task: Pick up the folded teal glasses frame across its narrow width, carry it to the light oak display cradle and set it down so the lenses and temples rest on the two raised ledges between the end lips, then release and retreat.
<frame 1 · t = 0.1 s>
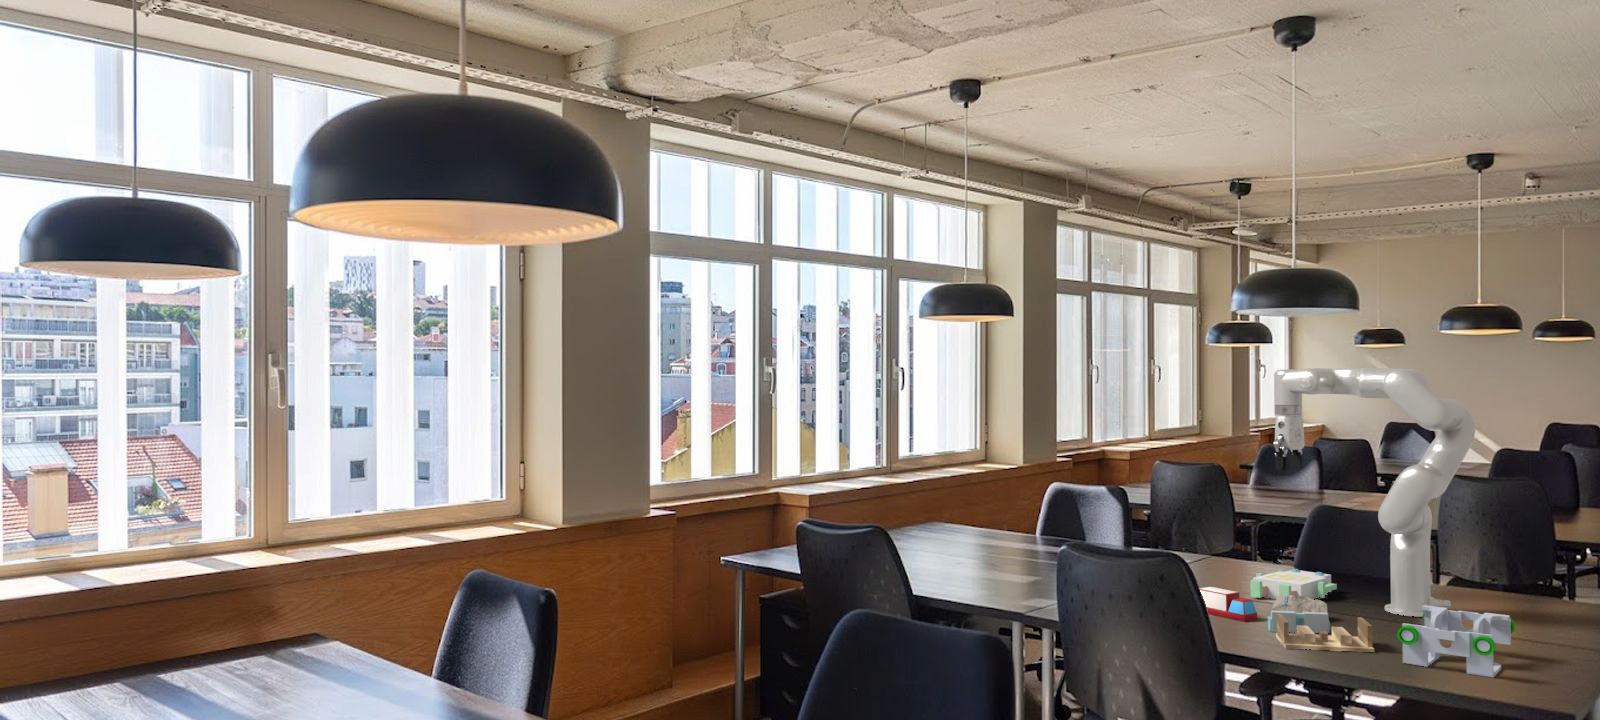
hand: (1289, 469, 325), 37 cm above the table, tool pointing down, fingers open, 9 cm apart
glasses: (1299, 632, 279), on the table
concrete fragment: (1302, 619, 295), on the table
decorative block: (1291, 597, 324), on the table
toy truck: (1227, 617, 299), on the table
bracket: (1457, 662, 251), on the table
cradle: (1323, 644, 266), on the table
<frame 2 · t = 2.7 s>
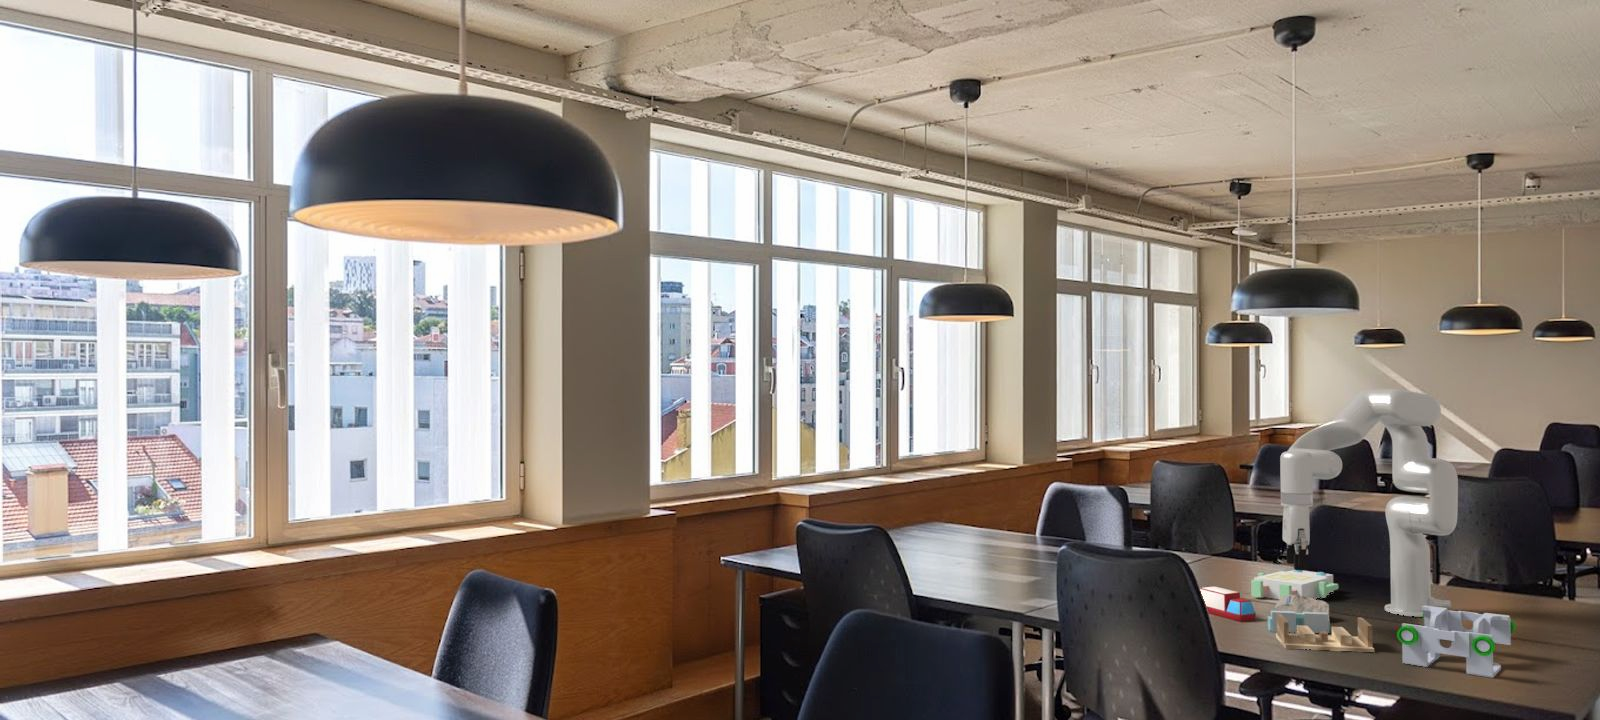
hand: (1297, 566, 280), 16 cm above the table, tool pointing down, fingers open, 9 cm apart
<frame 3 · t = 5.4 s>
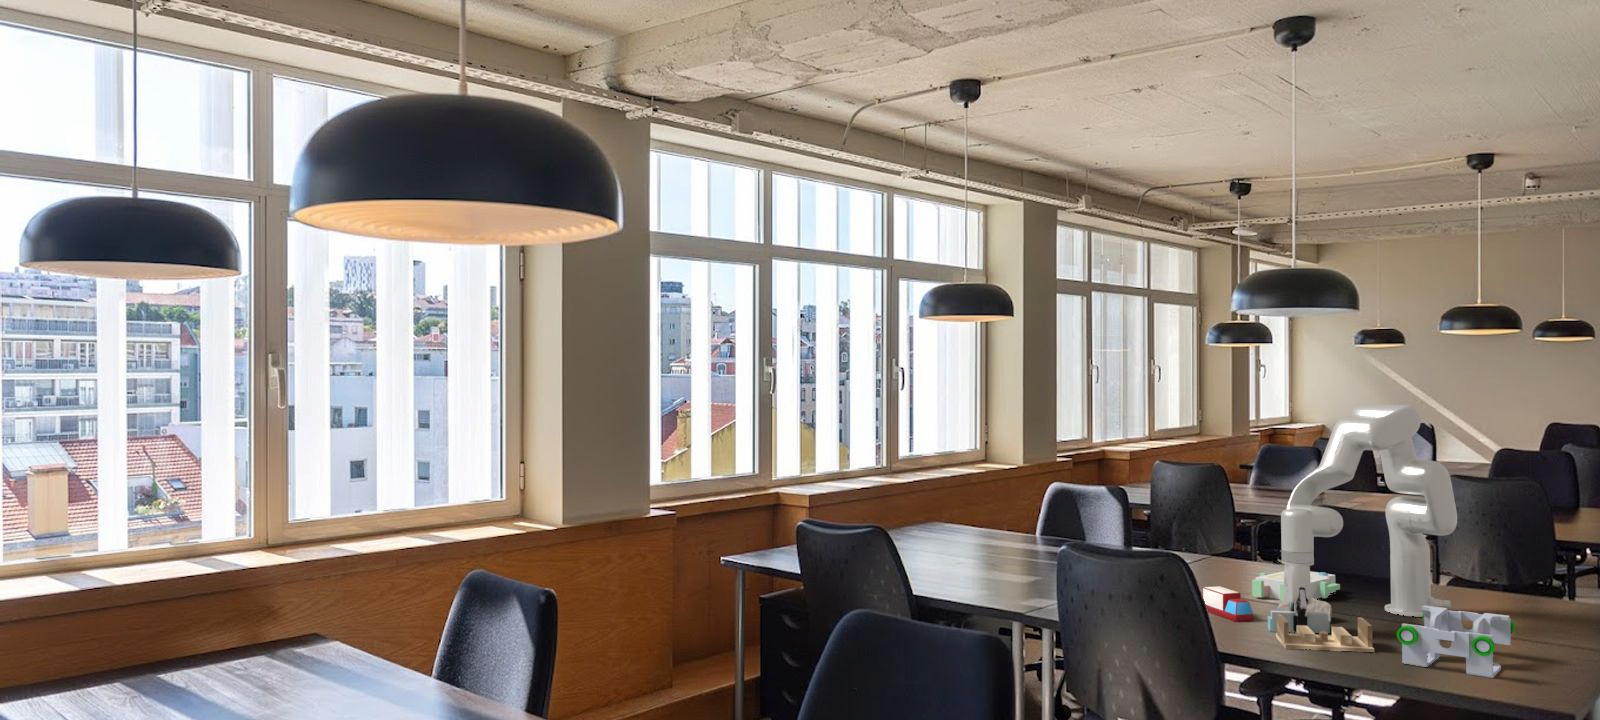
hand: (1298, 628, 280), 1 cm above the table, tool pointing down, fingers closed on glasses, 3 cm apart
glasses: (1299, 632, 279), on the table, touching gripper
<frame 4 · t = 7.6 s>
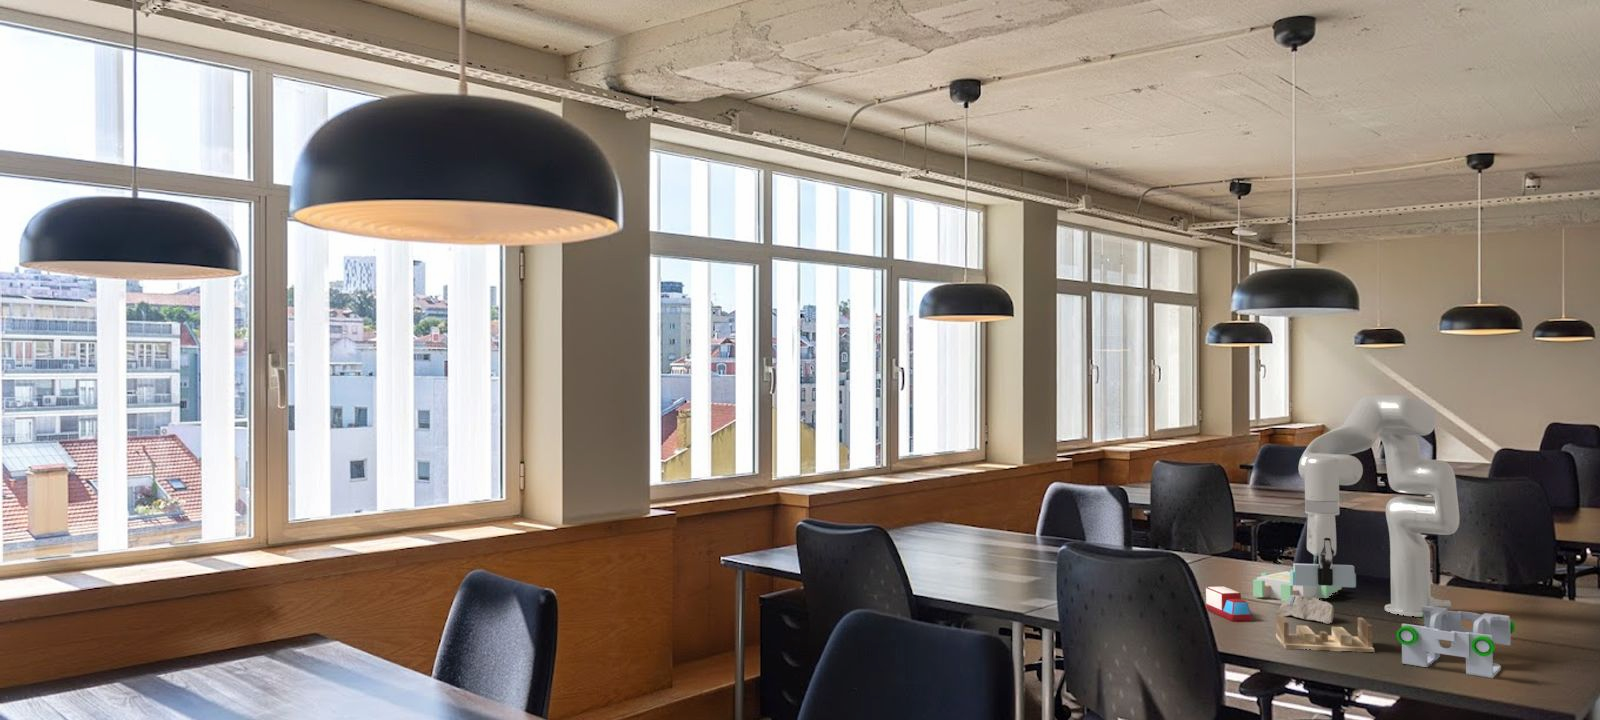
hand: (1323, 582, 266), 15 cm above the table, tool pointing down, fingers closed on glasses, 3 cm apart
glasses: (1323, 585, 265), point 15 cm above the table, touching gripper
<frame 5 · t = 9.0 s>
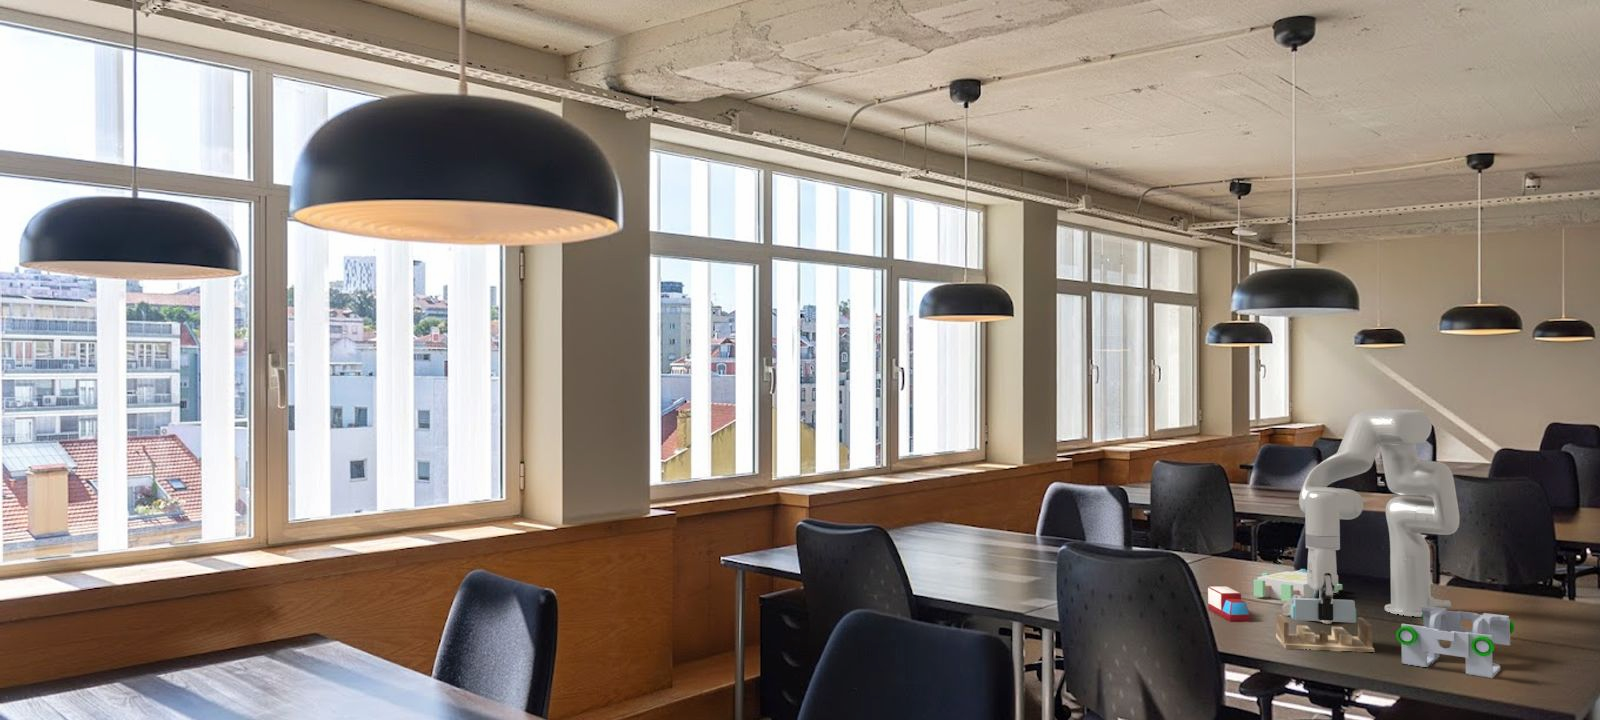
hand: (1323, 617, 266), 7 cm above the table, tool pointing down, fingers closed on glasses, 3 cm apart
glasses: (1324, 620, 265), point 6 cm above the table, touching gripper
when the fingers open (5 cm above the table, at t = 10.0 s): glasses drops 1 cm, resting on cradle.
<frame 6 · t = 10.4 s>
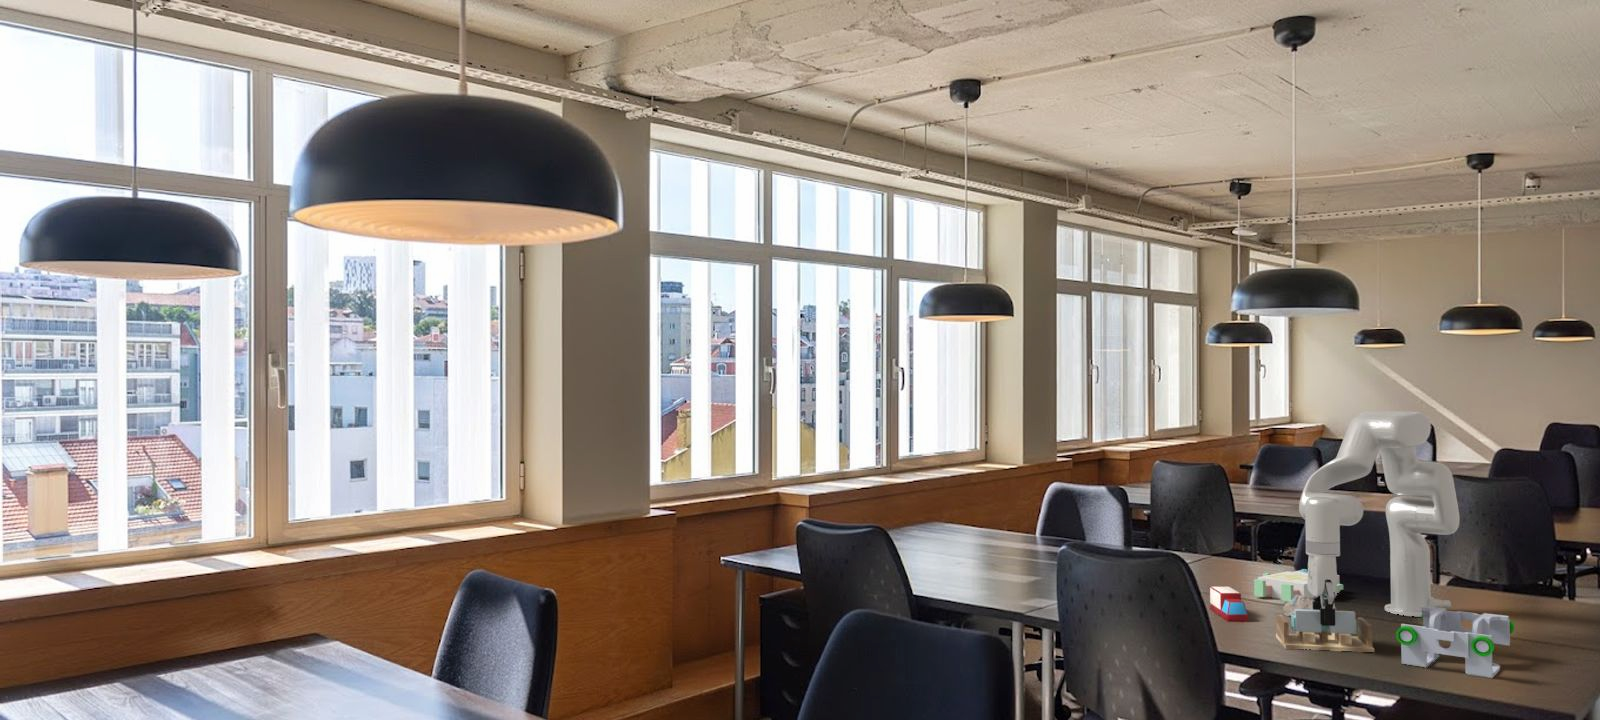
hand: (1323, 621, 266), 6 cm above the table, tool pointing down, fingers open, 7 cm apart
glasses: (1324, 631, 265), point 3 cm above the table, touching cradle
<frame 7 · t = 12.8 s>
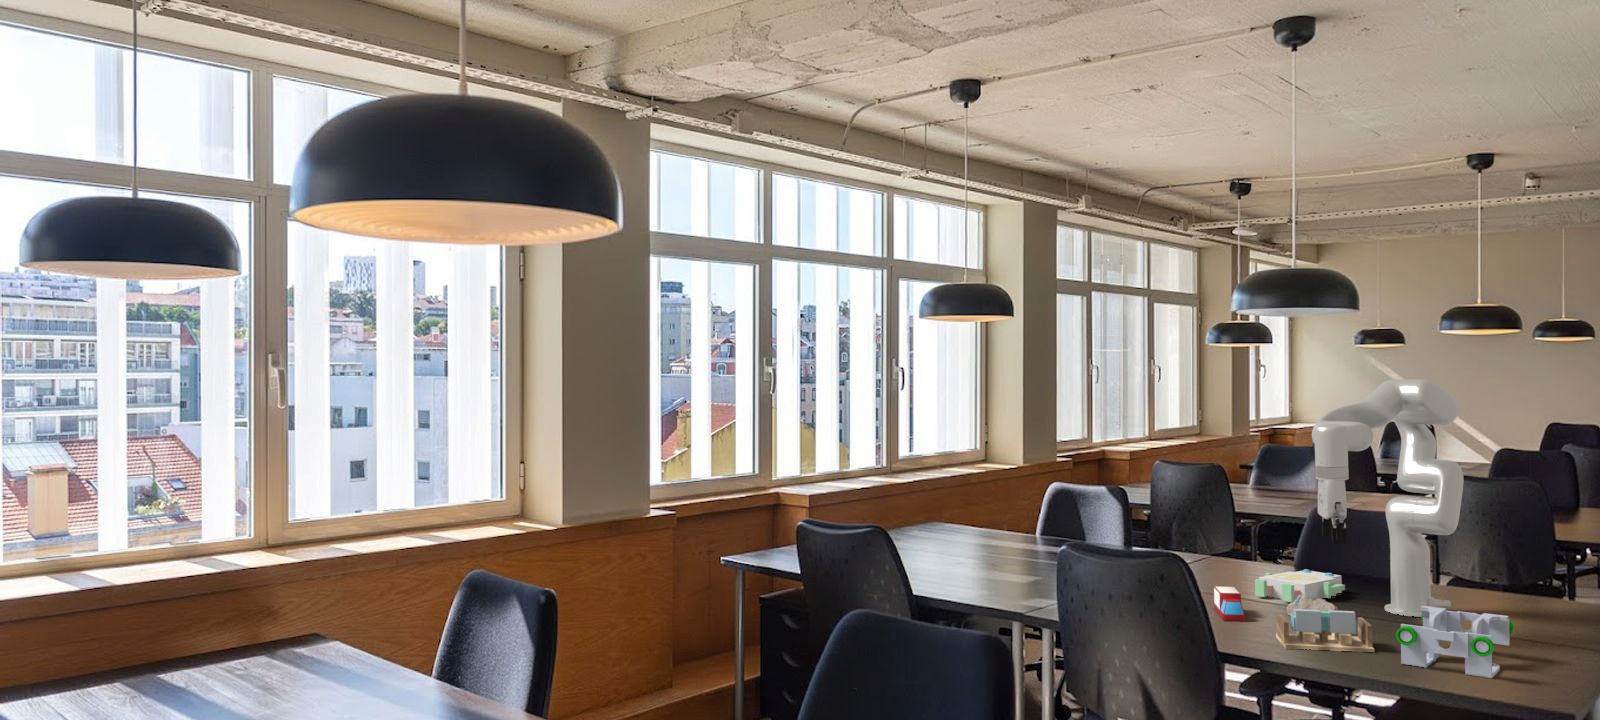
hand: (1334, 540, 279), 23 cm above the table, tool pointing down, fingers open, 9 cm apart
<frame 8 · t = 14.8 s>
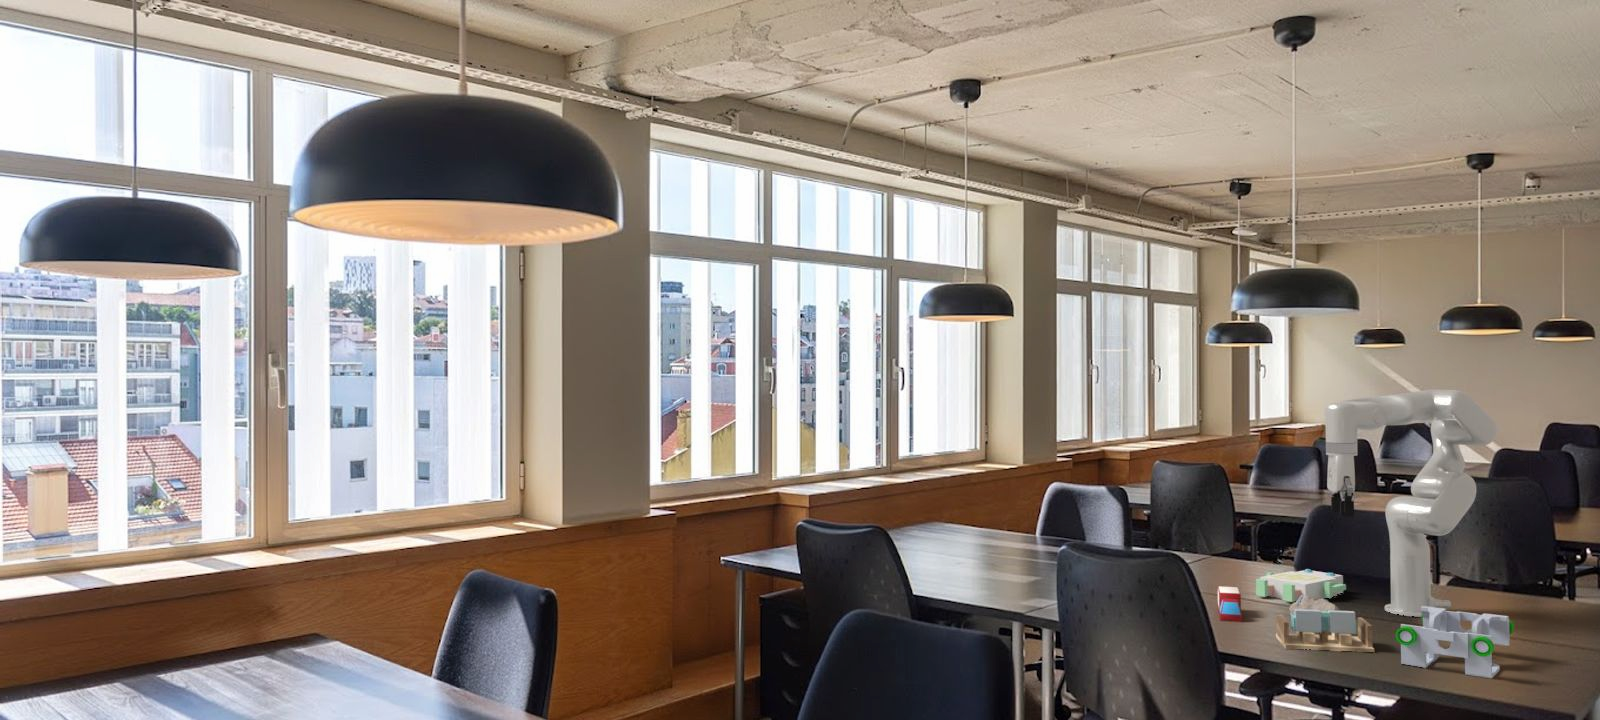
hand: (1342, 514, 291), 28 cm above the table, tool pointing down, fingers open, 9 cm apart
at the end: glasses inside the target area on the cradle (1.4 cm from its centre), point 3.5 cm above the cradle's base; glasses touching cradle; the gripper is holding nothing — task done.
